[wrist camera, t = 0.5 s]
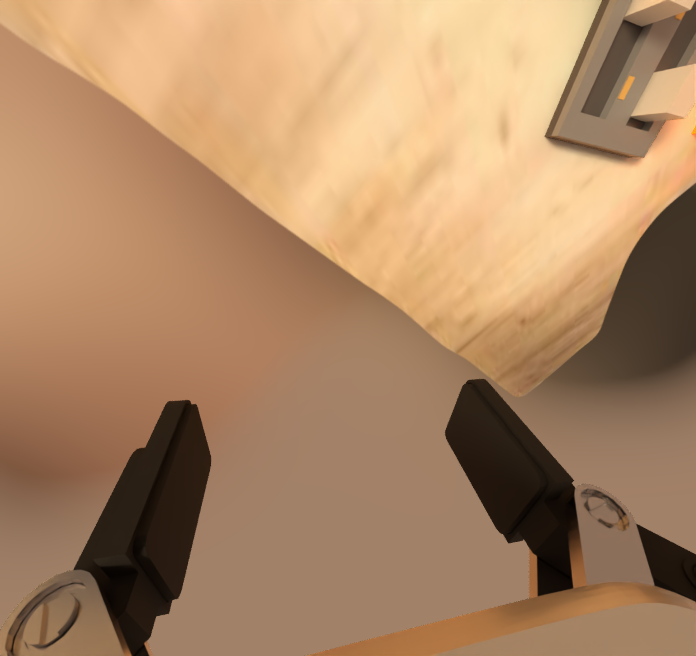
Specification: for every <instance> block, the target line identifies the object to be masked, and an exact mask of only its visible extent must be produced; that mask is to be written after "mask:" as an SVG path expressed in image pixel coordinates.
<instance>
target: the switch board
mask: <svg viewBox="0 0 696 656" xmlns="http://www.w3.org/2000/svg"><path fill="white" fill-rule="evenodd" d="M631 1H632V0H602V2H601V4H600V7H599V9H598V12H597V14H596V16H595V19H594V21H593V23H592V26H591V28H590V30H589V33H588V35H587V38H586V40H585V42H584V45H583V47H582V49H581V52H580V54H579V57H578V59H577V61H576V64H575V66H574V68H573V71H572V73H571V75H570V78H569V80H568V83H567V85H566V87H565V90H564V92H563V94H562V97H561V99H560V102H559V104H558V106H557V109H556V111H555V113H554V116H553V118H552V120H551V123H550V125H549V128H548V130H547V132H546V135H545V136H546V137H549V138H553V139H557V140H561V141H565V142H569V143H573V144H577V145H581V146H585V147H589V148H593V149H597V150H601V151H605V152H609V153H613V154H617V155H621V156H625V157H637V158H644V157H645V155H646V153H647V152H648V150H649V148H650V147H651V145H652V143H653V141H654V140H655V138H656V136H657V135H658V133H659V131H660V130H661V128H662V126H663V124H664V123H665V121H666V120H661V121H649V122H644V121H640V120H637V119H633V118H630V116H631V114H632V112H633V111H634V109H635V107H636V105H637V103H638V101H639V99H640V97H641V96H642V94H643V92H644V90H645V88H646V86H647V84H648V82H649V81H650V79H651V77H652V75H653V73H654V72H659V71H664V70H668V69H673V68H678V67H682V66H687V65H692V64H696V1H695V2H694V4H693V6H692V8H691V10H688V11H685V12H683V13H680V14H677V15H674V16H671V17H668V18H665V19H663V20H660V21H657V22H654V23H651V24H648V25H645V26H643V27H641V26H639V25H636V24H634V23H631V22H629V21H626V20H624V16H625V14H626V12H627V10H628V8H629V5H630V3H631Z"/></svg>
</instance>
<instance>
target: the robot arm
mask: <svg viewBox="0 0 696 656" xmlns="http://www.w3.org/2000/svg"><path fill="white" fill-rule="evenodd" d="M445 436H446V439H447V441H448V443H449V445H450V447H451V448H452V450H453V452H454V454H455V455H456V457H457V459H458V461H459V463H460V464H461V466H462V468H463V470H464V472H465V473H466V475H467V477H468V479H469V480H470V482H471V484H472V486H473V488H474V489H475V491H476V493H477V495H478V497H479V499H480V500H481V502H482V504H483V506H484V507H485V509H486V511H487V513H488V515H489V516H490V518H491V520H492V522H493V524H494V525H495V527H496V529H497V530H498V531H499V532H500V533H501V534H503V535H504V537H505V538H506V540H507V542H508V543H513V542H518V541H523V539H524V540H525V541H526V543H527V545H528V547H529V599H526V600H522V601H518V602H514V603H510V604H506V605H502V606H498V607H494V608H490V609H486V610H482V611H478V612H474V613H470V614H466V615H462V616H458V617H454V618H450V619H446V620H442V621H438V622H435V623H430V624H427V625H423V626H419V627H415V628H411V629H407V630H403V631H399V632H395V633H391V634H387V635H384V636H379V637H376V638H372V639H368V640H364V641H360V642H356V643H352V644H349V645H345V646H341V647H337V648H334V649H329V650H325V651H322V652H318V653H315V654H310V655H307V656H696V554H694V553H692V552H690V551H688V550H686V549H684V548H682V547H680V546H678V545H676V544H675V543H673V542H670V541H669V540H667V539H665V538H663V537H661V536H659V535H657V534H655V533H653V532H651V531H649V530H647V529H645V528H643V527H642V526H640V525H638V524H636V523H635V520H634V518H633V516H632V515H631V513H630V512H629V510H628V509H627V508H626V507H625V506H624V505H623V504H622V503H621V502H620V501H619V500H618V499H617V498H616V497H614V496H613V495H612V494H610V493H609V492H607V491H605V490H603V489H602V488H600V487H597V486H594V485H590V484H581V485H578V486H577V487H576V488H575V487H574V486H573V484H572V482H573V481H574V480H573V479H572V478H571V476H570V475H569V474H568V473H567V472H566V471H565V470H564V468H563V467H562V466H561V465H560V464H559V463H558V462H557V460H556V459H555V458H554V457H553V456H552V455H551V454H550V452H549V451H548V450H547V449H546V448H545V447H544V446H543V444H542V443H541V442H540V441H539V440H538V439H537V438H536V436H535V435H534V434H533V433H532V432H531V431H530V430H529V428H528V427H527V426H526V425H525V424H524V423H523V422H522V420H521V419H520V418H519V417H518V416H517V415H516V413H515V412H514V411H513V410H512V409H511V408H510V407H509V405H508V404H507V403H506V402H505V401H504V400H503V399H502V398H501V396H500V395H499V394H498V393H497V392H496V391H495V389H494V388H493V387H492V386H491V385H490V384H489V383H488V382H487V381H486V380H485V379H475V380H468V381H467V382H466V384H464V385H463V386H462V389H461V392H460V394H459V397H458V399H457V402H456V404H455V407H454V410H453V412H452V415H451V417H450V420H449V422H448V425H447V428H446V431H445ZM210 466H211V455H210V451H209V447H208V444H207V440H206V436H205V433H204V429H203V426H202V422H201V418H200V414H199V411H198V407H197V405H196V404H192V405H191V402H190V401H189V400H182V401H169V402H167V404H166V405H165V407H164V409H163V411H162V413H161V416H160V418H159V420H158V422H157V424H156V426H155V428H154V430H153V433H152V435H151V437H150V439H149V441H148V443H147V445H146V447H145V448H139V449H137V450H136V451H134V452H133V454H132V455H131V457H130V459H129V461H128V463H127V465H126V467H125V468H124V470H123V473H122V475H121V476H120V478H119V481H118V482H117V484H116V486H115V488H114V490H113V492H112V495H111V496H110V498H109V500H108V502H107V504H106V506H105V508H104V510H103V512H102V514H101V516H100V518H99V520H98V522H97V524H96V526H95V528H94V530H93V532H92V534H91V536H90V538H89V540H88V542H87V544H86V546H85V548H84V550H83V552H82V554H81V556H80V558H79V560H78V562H77V564H76V566H75V568H74V570H69V571H66V572H64V573H61V574H58V575H55V576H54V577H52V578H50V579H49V580H47V581H45V582H44V583H42V584H41V585H39V586H38V587H37V588H36V589H34V590H33V591H32V592H31V593H29V594H28V595H27V596H26V597H25V598H24V599H23V600H22V601H21V602H20V603H19V605H18V606H17V607H16V608H15V609H14V610H13V611H12V612H11V614H10V615H9V617H8V618H7V620H6V621H5V623H4V624H3V626H2V627H1V629H0V656H153V654H152V651H151V649H150V647H149V644H148V642H147V640H148V639H149V638H150V636H151V633H152V629H153V626H154V622H155V618H156V616H160V615H165V614H169V611H170V607H171V603H172V600H174V599H178V597H179V596H180V593H181V590H182V586H183V582H184V578H185V574H186V569H187V565H188V561H189V557H190V552H191V548H192V544H193V539H194V535H195V531H196V527H197V523H198V518H199V514H200V510H201V506H202V501H203V497H204V493H205V489H206V484H207V480H208V476H209V472H210Z"/></svg>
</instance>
